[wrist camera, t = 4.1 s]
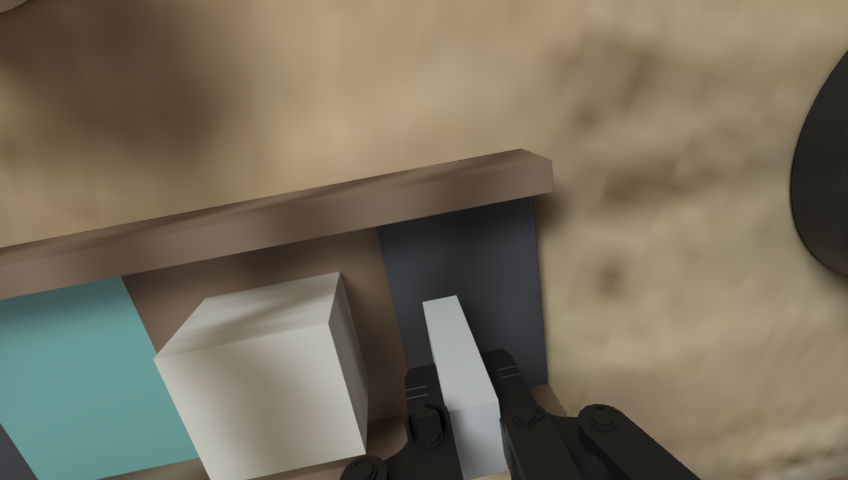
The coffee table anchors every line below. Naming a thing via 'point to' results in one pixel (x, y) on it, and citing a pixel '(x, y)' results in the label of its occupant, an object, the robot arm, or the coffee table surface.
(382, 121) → the coffee table surface
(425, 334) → the channel
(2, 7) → the teacup with lid
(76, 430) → the pad
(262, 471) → the birch block
